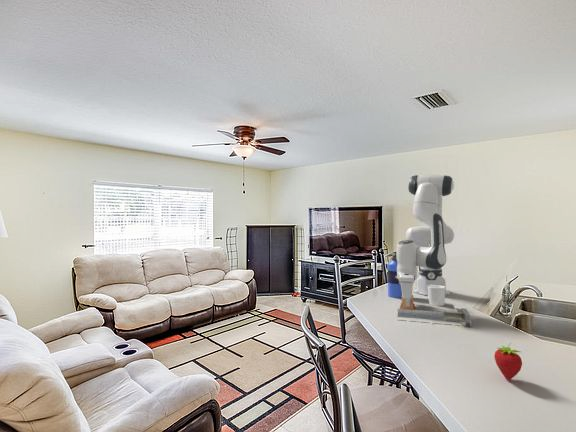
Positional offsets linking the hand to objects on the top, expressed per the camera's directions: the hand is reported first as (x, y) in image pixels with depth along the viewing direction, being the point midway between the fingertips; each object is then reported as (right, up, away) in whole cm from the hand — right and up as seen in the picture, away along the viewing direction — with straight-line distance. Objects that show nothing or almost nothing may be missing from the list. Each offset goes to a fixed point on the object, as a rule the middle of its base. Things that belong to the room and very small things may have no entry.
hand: (407, 304), depth 148 cm
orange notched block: (0, -2, 0) cm, 2 cm away
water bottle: (+3, -4, +23) cm, 23 cm away
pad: (0, -3, 0) cm, 3 cm away
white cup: (+16, -3, +5) cm, 17 cm away
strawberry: (+2, -2, -64) cm, 65 cm away
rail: (+5, -3, -14) cm, 15 cm away
